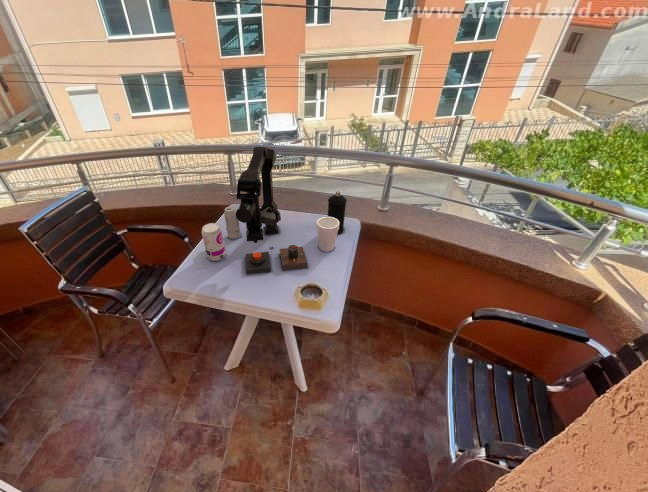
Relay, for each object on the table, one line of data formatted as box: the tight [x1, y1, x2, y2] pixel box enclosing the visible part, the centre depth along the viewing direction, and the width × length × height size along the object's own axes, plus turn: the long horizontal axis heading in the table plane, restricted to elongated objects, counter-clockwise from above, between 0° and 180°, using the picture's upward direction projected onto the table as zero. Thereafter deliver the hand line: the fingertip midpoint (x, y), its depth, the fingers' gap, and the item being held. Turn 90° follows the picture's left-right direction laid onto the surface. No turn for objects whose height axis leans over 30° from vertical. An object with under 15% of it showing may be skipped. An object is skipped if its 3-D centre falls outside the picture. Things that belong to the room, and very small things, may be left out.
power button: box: [253, 251, 262, 260], centre depth 133 cm, size 4×4×2 cm
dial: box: [287, 244, 299, 258], centre depth 133 cm, size 4×4×4 cm
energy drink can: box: [223, 205, 241, 240], centre depth 148 cm, size 6×6×15 cm
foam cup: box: [316, 216, 339, 253], centre depth 138 cm, size 10×9×13 cm
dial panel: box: [279, 246, 308, 271], centre depth 135 cm, size 11×10×3 cm
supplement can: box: [200, 222, 227, 262], centre depth 137 cm, size 8×8×15 cm
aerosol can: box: [327, 190, 348, 235], centre depth 146 cm, size 8×8×20 cm
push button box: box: [245, 251, 272, 275], centre depth 134 cm, size 11×10×4 cm
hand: (255, 242), depth 128 cm, fingers closed
